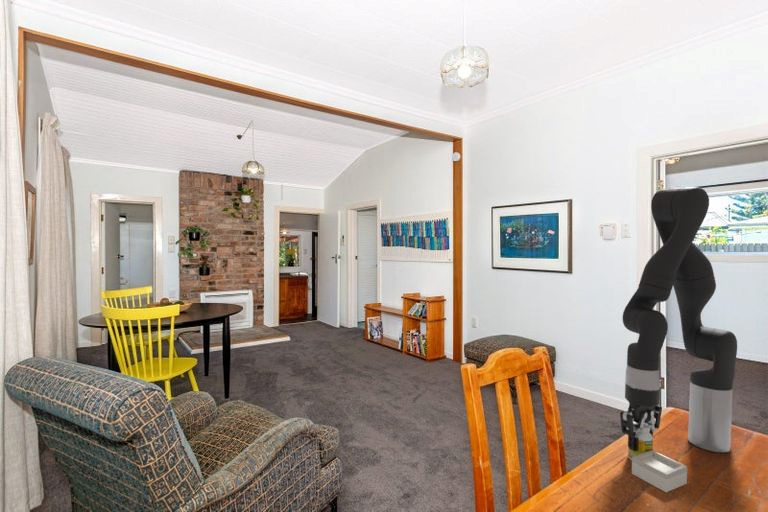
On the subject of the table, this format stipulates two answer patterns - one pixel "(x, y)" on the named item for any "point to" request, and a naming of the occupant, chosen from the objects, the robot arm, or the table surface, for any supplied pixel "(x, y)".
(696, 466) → the table surface
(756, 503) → the table surface
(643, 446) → the supplement bottle
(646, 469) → the grey open box
